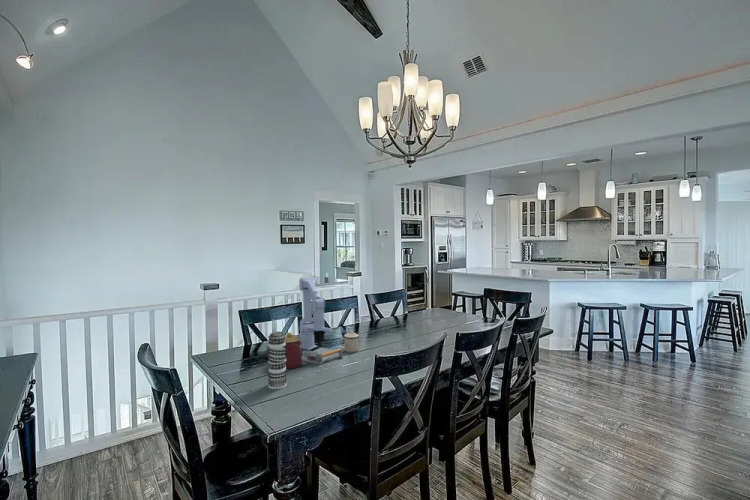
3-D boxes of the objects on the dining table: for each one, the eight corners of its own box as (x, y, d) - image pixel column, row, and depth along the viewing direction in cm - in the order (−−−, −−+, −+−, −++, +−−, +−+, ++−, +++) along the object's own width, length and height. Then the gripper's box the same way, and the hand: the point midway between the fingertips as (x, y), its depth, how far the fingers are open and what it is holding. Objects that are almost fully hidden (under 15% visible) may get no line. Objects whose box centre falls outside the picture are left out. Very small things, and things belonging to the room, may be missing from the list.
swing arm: (318, 362, 206) (318, 356, 206) (315, 361, 209) (315, 354, 208) (346, 354, 221) (346, 347, 220) (342, 352, 223) (342, 346, 223)
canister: (296, 369, 200) (295, 336, 199) (273, 368, 202) (272, 335, 201) (305, 361, 212) (305, 330, 211) (284, 360, 215) (283, 329, 214)
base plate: (297, 359, 215) (296, 351, 215) (321, 349, 234) (320, 341, 234) (327, 366, 205) (327, 357, 205) (349, 354, 224) (349, 346, 224)
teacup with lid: (359, 348, 236) (359, 329, 236) (357, 352, 227) (357, 333, 227) (340, 347, 238) (340, 329, 237) (337, 352, 229) (337, 332, 228)
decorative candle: (279, 380, 186) (278, 329, 185) (291, 384, 180) (290, 332, 179) (263, 385, 179) (262, 333, 178) (275, 391, 173) (274, 336, 172)
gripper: (304, 320, 213) (304, 344, 213) (328, 322, 209) (328, 347, 209) (309, 318, 220) (310, 341, 220) (333, 319, 215) (333, 343, 216)
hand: (319, 344), depth 215 cm, fingers closed
